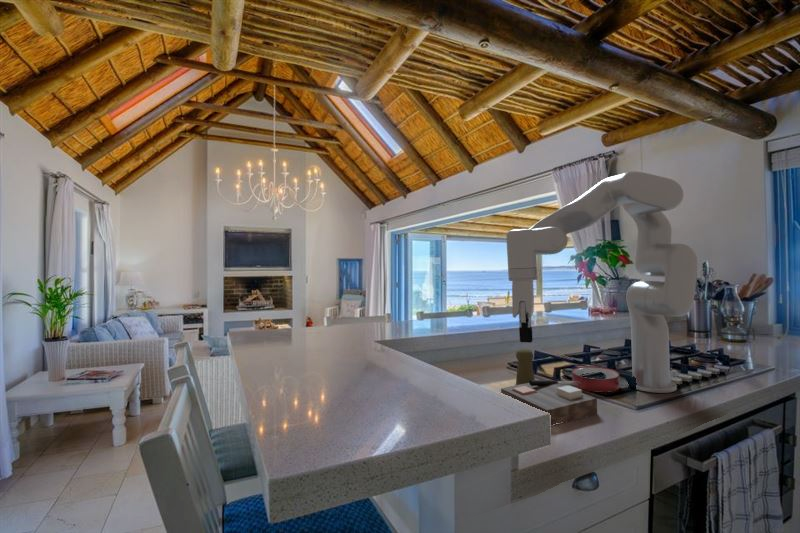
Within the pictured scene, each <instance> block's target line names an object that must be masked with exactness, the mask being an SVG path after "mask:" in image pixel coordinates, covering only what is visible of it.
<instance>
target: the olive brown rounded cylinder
mask: <svg viewBox="0 0 800 533" xmlns="http://www.w3.org/2000/svg"><path fill="white" fill-rule="evenodd" d="M515 353H516V354H515V357H516V359H517V369H516V379H515V385H520V384H525V383H529V381H530V380H536V379H535V373H534V372H535V371H534V369H533V368H534V367H533V362H532V361H533V359H534V353H533V351H532V350H530V349H527V348H526V349H525V348H524V349H523V348H522V349H519V350H517V351H516V352H515Z"/></svg>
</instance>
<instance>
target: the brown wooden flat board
mask: <svg viewBox="0 0 800 533" xmlns="http://www.w3.org/2000/svg"><path fill="white" fill-rule="evenodd" d="M544 380H547V378H546V379H544ZM522 386H527V387H529V388H532V389H534V390H536V393H533V394H528V395H524V396H523V395H521V394H518V393H516V392H514V391H513V388H517V387H522ZM564 386H565V385H560V384H557V383H556V384H551V385H546V386H531V385H530V384H529V383H525V384H520V385H516V384H515V385H510V386H505V387H502V388H500V394H501V393H503V394H505V395H508V396H511V397H512V398H514V399H517V400H519V401H521V402H523V403H526V404H528V405H530V406H532V407H535V408H537V409H540V410H542V411H545V412H548V413H550V415H551V425H553V424H556V423H561V422H565V423H567V422H566V421H568V422H571V420H572V421H575V420H579V419H580V420H581V419H583V418H587V417H590V416H594V415H598V398H596V397H594V396H592V395H590V394H586V393H583V392H582V397H579V398H575V399H571V400H569V399H566V398H564V397H562V396H559V395H557V388H559V387H564ZM561 424H562V423H561ZM553 426H554V425H553Z"/></svg>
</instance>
